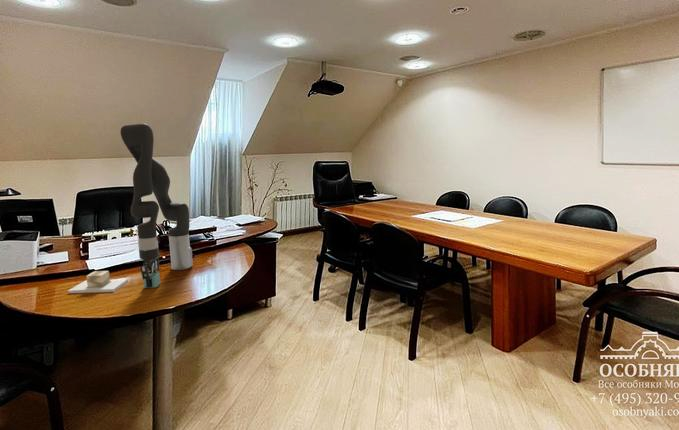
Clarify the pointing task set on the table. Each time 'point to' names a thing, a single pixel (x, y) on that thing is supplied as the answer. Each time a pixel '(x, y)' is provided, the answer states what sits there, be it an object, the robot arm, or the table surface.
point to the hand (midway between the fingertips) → (152, 284)
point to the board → (109, 287)
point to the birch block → (98, 279)
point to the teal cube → (153, 280)
